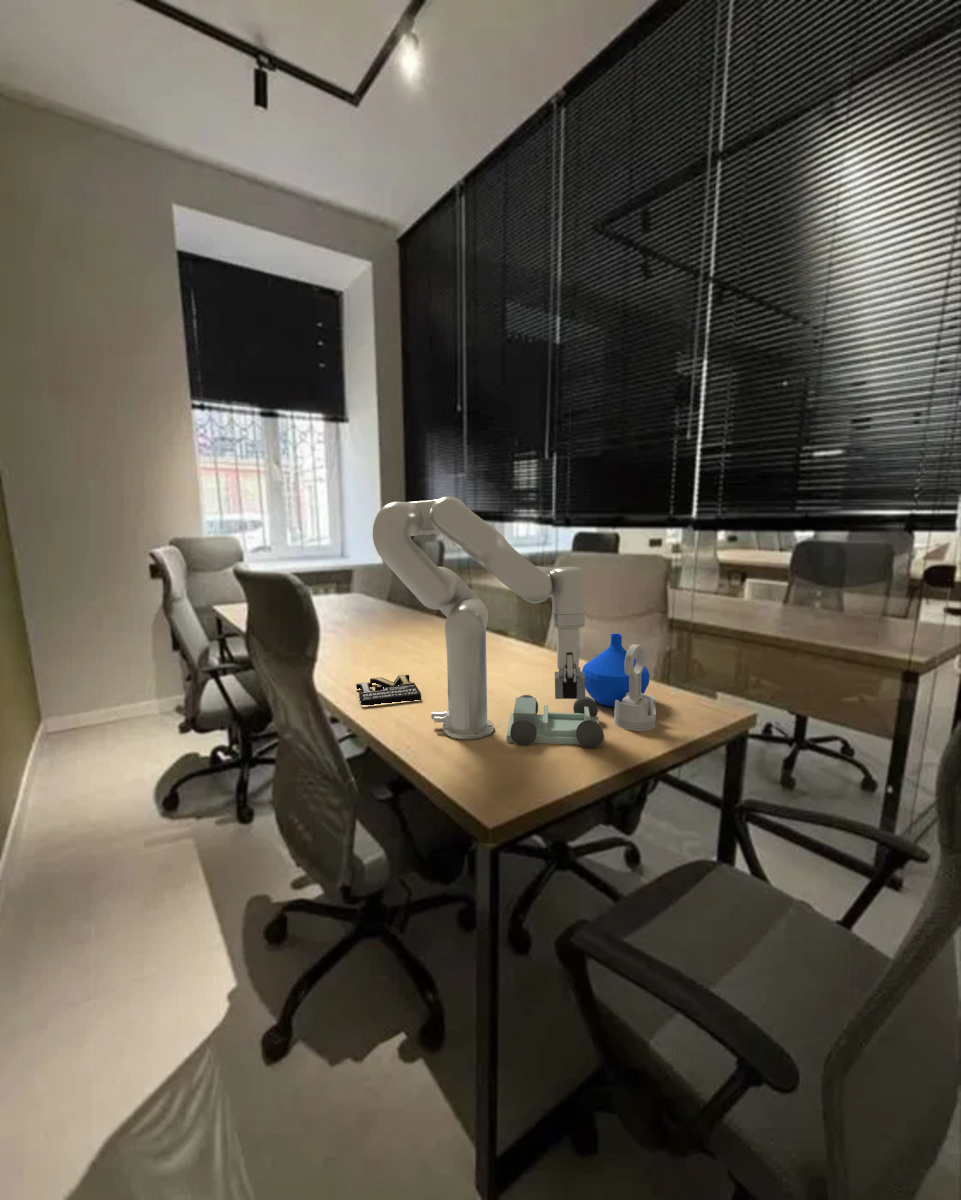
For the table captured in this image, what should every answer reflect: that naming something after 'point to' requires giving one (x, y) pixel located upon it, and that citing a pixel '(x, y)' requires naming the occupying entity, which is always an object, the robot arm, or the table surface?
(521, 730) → the chassis
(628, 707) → the engine component
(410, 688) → the decorative sign
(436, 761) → the table surface
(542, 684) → the table surface
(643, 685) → the vase
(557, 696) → the block
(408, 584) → the robot arm
